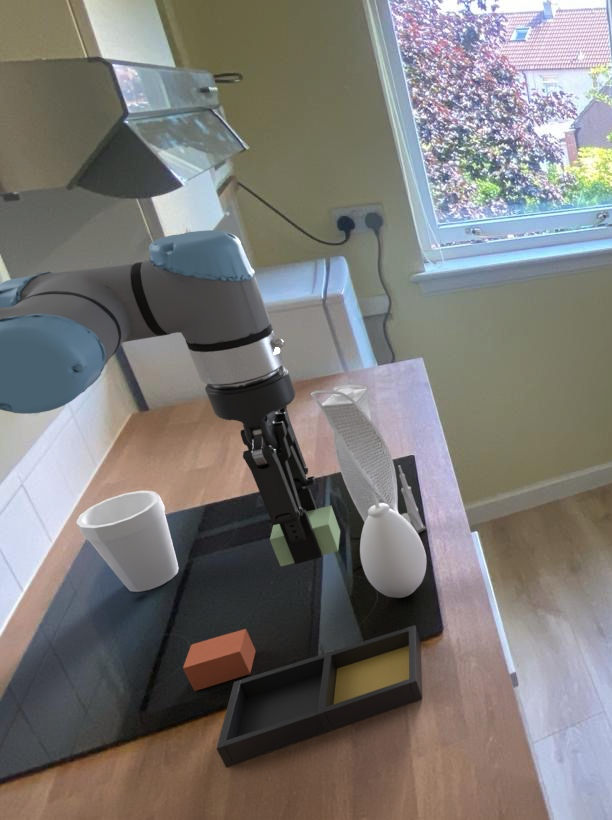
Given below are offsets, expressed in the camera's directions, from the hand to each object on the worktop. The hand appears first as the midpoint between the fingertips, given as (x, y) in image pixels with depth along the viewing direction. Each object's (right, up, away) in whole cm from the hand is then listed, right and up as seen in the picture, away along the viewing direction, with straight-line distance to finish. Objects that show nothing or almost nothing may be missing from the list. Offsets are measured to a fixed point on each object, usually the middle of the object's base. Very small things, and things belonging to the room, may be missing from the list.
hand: (310, 546), depth 90 cm
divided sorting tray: (+1, -20, +2) cm, 20 cm away
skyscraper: (-9, -6, +33) cm, 35 cm away
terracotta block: (-16, -18, +7) cm, 25 cm away
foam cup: (-41, -11, +24) cm, 48 cm away
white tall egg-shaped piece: (+1, -12, +20) cm, 23 cm away
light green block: (0, 0, 0) cm, 0 cm away
